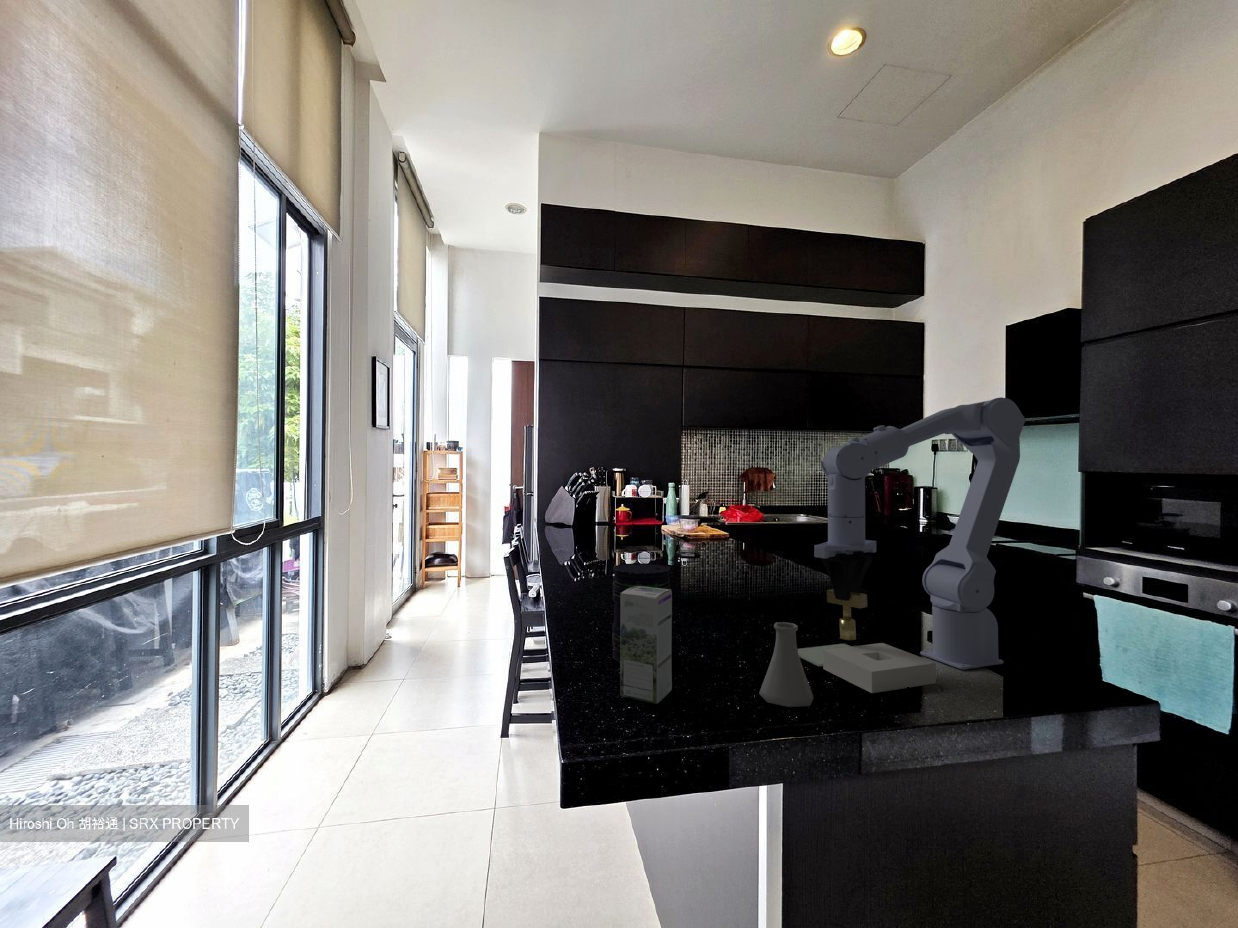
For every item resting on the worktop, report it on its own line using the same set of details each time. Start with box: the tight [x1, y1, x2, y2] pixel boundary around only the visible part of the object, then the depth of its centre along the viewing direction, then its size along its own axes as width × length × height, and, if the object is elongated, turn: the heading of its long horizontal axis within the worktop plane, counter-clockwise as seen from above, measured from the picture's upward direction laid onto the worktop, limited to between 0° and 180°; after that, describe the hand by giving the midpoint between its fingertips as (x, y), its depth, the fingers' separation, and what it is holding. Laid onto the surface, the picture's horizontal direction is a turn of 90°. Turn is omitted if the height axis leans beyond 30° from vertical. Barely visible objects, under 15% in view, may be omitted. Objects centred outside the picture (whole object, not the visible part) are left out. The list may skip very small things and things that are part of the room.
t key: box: [826, 588, 868, 641], centre depth 87 cm, size 6×2×8 cm, turn 34°
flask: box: [758, 621, 814, 708], centre depth 73 cm, size 7×7×10 cm
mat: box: [797, 643, 852, 667], centre depth 90 cm, size 12×8×1 cm, turn 109°
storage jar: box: [611, 562, 671, 663], centre depth 90 cm, size 10×10×15 cm
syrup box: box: [619, 586, 673, 705], centre depth 74 cm, size 6×6×14 cm
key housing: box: [822, 642, 937, 694], centre depth 81 cm, size 12×10×3 cm
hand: (846, 598), depth 87 cm, fingers closed on t key, 2 cm apart
